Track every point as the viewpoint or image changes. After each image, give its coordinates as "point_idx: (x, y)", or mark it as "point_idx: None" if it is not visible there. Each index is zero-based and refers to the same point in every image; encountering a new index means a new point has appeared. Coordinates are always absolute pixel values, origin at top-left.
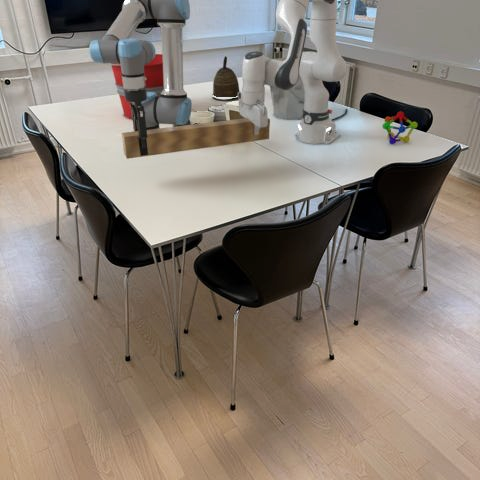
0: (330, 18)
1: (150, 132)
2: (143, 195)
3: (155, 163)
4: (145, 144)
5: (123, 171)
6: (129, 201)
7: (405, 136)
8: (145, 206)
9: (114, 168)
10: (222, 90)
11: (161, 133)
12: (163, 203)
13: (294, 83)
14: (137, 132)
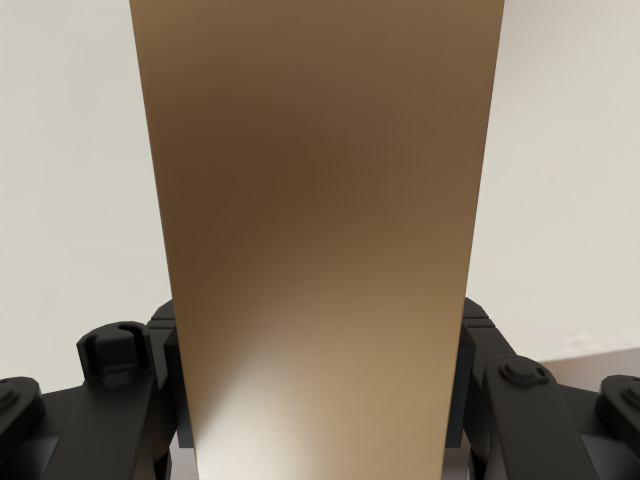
0: None
1: (378, 266)
2: (476, 241)
3: (13, 56)
4: (490, 324)
5: (114, 276)
6: (506, 314)
7: None
8: (603, 258)
9: (59, 312)
10: None
11: (497, 1)
12: (630, 165)
13: None
14: (281, 476)
